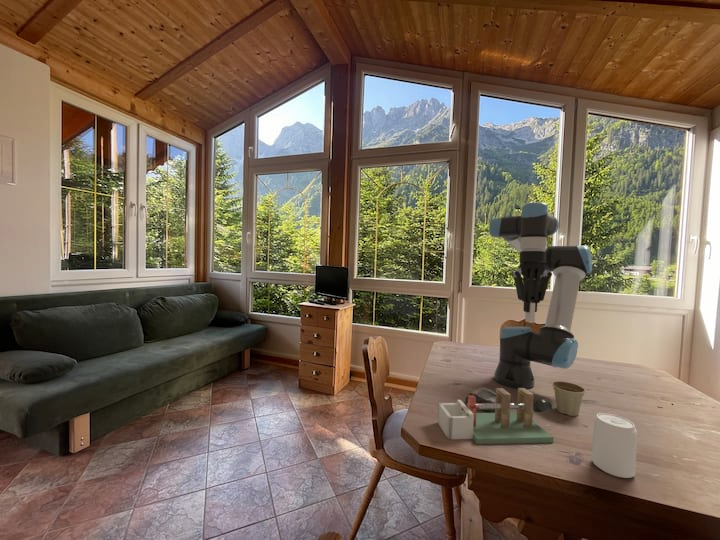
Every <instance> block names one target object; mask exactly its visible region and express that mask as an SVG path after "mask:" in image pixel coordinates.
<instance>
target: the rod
mask: <svg viewBox="0 0 720 540" xmlns="http://www.w3.org/2000/svg"><path fill="white" fill-rule="evenodd" d="M467 396H468V401H467V403H466V406H467V407H468V408H469V410H470V411H471V412H472V413H473V414H474V417H473V418H474V422H473V427H476V413H477V410H484V409H502V403H478V404H476V397H475V396H474V395H469V394H468V395H467ZM517 409H524V403H517V402H510V410H517ZM552 411H553V404H552V402H551V401H550V399H548V398H545V399H543V398H540V399H539V398H538V399H536V398H533V412H535V413H551V412H552ZM467 416H469V415H468V414H467Z"/></svg>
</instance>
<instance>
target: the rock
mask: <svg viewBox="0 0 720 540" xmlns="http://www.w3.org/2000/svg"><path fill="white" fill-rule="evenodd" d="M468 395H474V396H475V397H476V404H478V403H495V401H496V391H494V390H492V389H489V388H486V387H481V386H479V387H478V388H476V389H474V390H472V391H471V392H469V394H468ZM468 395H467V396H466V397H465V400H466V401H467V402H468ZM483 411H487V412H488V413H495V409H483Z"/></svg>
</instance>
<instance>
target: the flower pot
mask: <svg viewBox="0 0 720 540" xmlns="http://www.w3.org/2000/svg"><path fill="white" fill-rule="evenodd" d="M551 386H552V387H553V390H554V396H555V398H554V399H555V406H556V410H557V411H558V412H559V413H561V414H562V415H563V414H565V415H567V416H569V417H577V416H579V414H580V409H581V405H582V399H583V397H584V395H585V393H586V392H587V390H586V388H585V387H583V386H581V385H578V384H577V383H573V382H568V381H563V380H561V381H560V380H555V381H553V382H552V383H551Z"/></svg>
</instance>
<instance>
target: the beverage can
mask: <svg viewBox="0 0 720 540" xmlns="http://www.w3.org/2000/svg"><path fill="white" fill-rule="evenodd" d="M592 427H593V430H592V450H591V451H592V453H591V460H592V463H593V464H594V465H595V466H596V467H597V468H598V469H600V470H602V471H603V472H604V473H607V474H608V475H611V476H613V477H618V478H624V479H630V478H633V477H635V476H636V465H637V446H638V431H637V429H636V426H635V423H634V422H633V421H631V420H629V419H627V418H625V417H623V416H620V415H617V414H613V413H607V412H598V413H597V414H596V416H595V417H594V419H593V426H592Z"/></svg>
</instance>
